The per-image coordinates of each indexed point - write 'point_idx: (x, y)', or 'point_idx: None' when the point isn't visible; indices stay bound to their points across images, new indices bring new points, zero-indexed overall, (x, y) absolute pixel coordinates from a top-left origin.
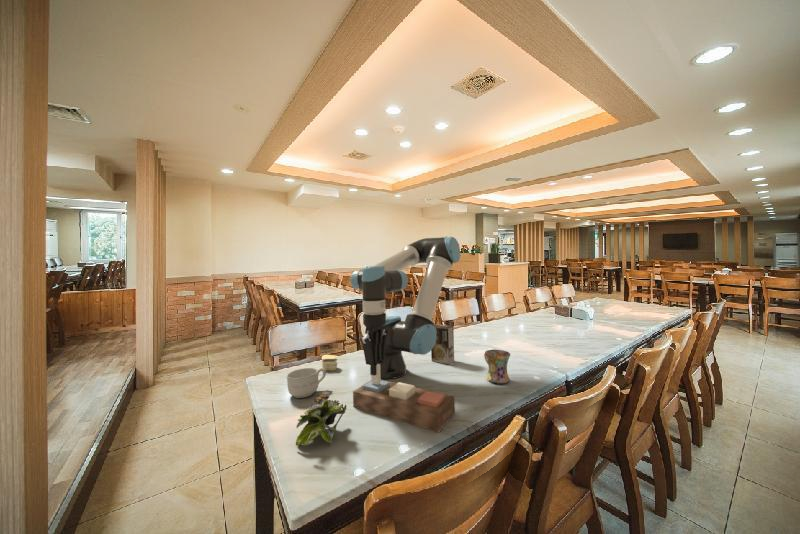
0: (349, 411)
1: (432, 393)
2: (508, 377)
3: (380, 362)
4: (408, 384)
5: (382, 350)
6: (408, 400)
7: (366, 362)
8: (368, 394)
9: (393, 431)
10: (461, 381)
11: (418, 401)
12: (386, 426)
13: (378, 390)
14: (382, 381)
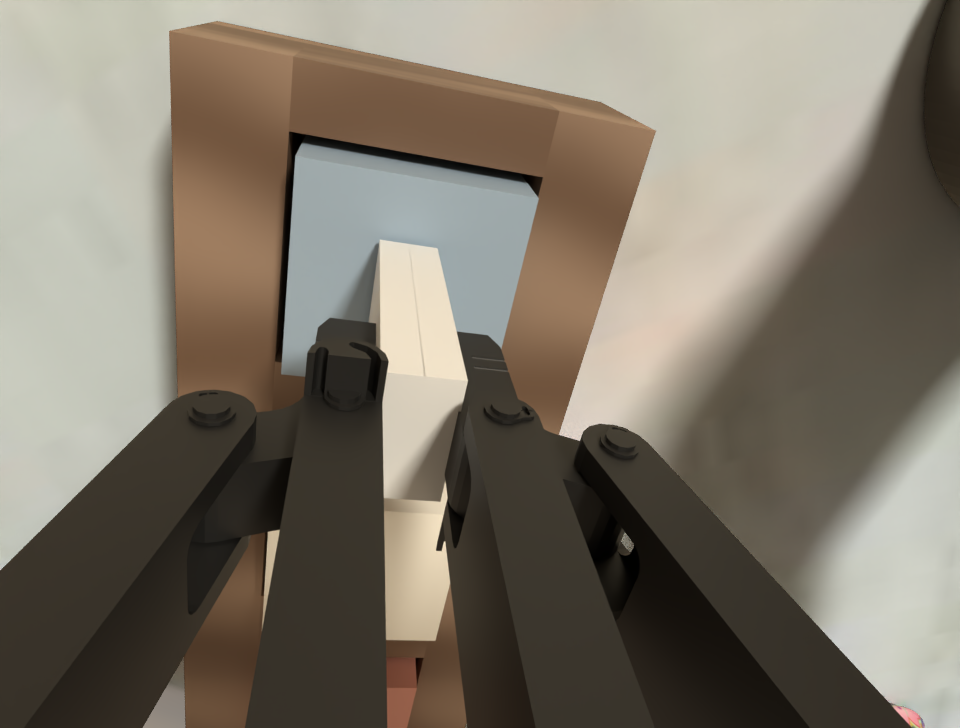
0: (109, 30)
1: (390, 723)
2: None
3: (442, 526)
4: (441, 596)
5: (632, 661)
6: None
7: (155, 436)
8: (196, 273)
9: (69, 498)
10: (846, 612)
11: None
12: (93, 441)
13: (283, 365)
14: (494, 325)
